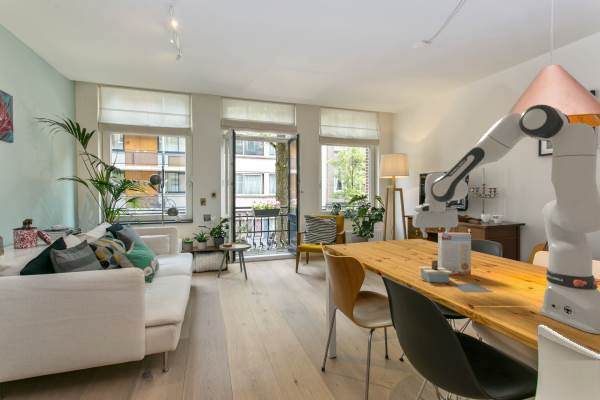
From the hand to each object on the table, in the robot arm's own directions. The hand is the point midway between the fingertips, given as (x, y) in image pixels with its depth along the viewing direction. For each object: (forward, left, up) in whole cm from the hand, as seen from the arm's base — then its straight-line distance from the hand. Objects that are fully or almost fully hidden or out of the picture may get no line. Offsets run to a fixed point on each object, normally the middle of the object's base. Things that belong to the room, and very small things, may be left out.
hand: (435, 237), depth 142 cm
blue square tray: (0, 0, -20) cm, 20 cm away
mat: (-12, -10, -20) cm, 26 cm away
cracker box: (+11, -15, -21) cm, 28 cm away
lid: (0, 0, -16) cm, 16 cm away
